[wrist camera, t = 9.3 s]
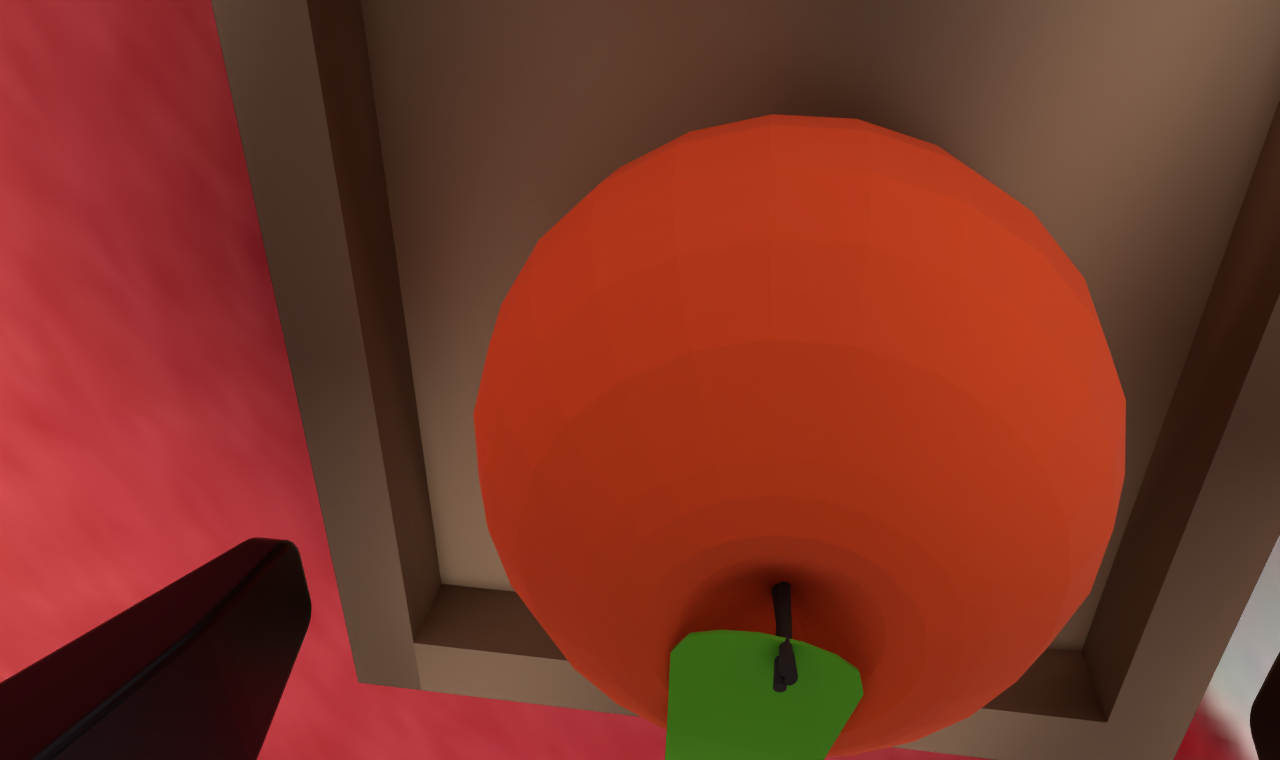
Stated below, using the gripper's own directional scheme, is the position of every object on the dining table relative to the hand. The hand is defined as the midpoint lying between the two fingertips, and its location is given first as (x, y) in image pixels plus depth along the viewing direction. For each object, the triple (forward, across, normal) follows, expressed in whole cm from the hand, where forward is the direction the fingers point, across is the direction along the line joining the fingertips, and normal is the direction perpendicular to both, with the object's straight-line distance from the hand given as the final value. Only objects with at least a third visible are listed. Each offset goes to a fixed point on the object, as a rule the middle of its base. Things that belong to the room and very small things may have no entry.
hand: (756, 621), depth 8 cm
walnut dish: (+7, 0, 0) cm, 7 cm away
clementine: (+6, 0, 0) cm, 6 cm away
